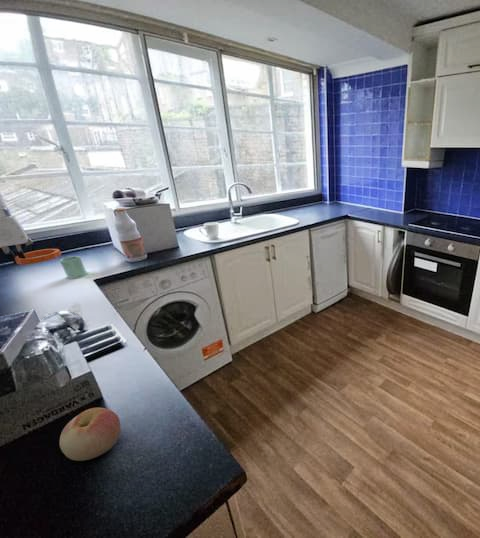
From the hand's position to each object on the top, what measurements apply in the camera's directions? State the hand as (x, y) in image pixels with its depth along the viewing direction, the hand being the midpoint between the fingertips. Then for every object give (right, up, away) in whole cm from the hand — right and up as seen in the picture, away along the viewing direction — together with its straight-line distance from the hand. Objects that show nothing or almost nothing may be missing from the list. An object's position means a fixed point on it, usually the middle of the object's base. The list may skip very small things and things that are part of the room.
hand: (19, 261), depth 114 cm
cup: (-5, -6, +28) cm, 30 cm away
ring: (+4, +1, +4) cm, 6 cm away
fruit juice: (+10, +2, +48) cm, 49 cm away
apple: (+80, -39, -54) cm, 104 cm away
